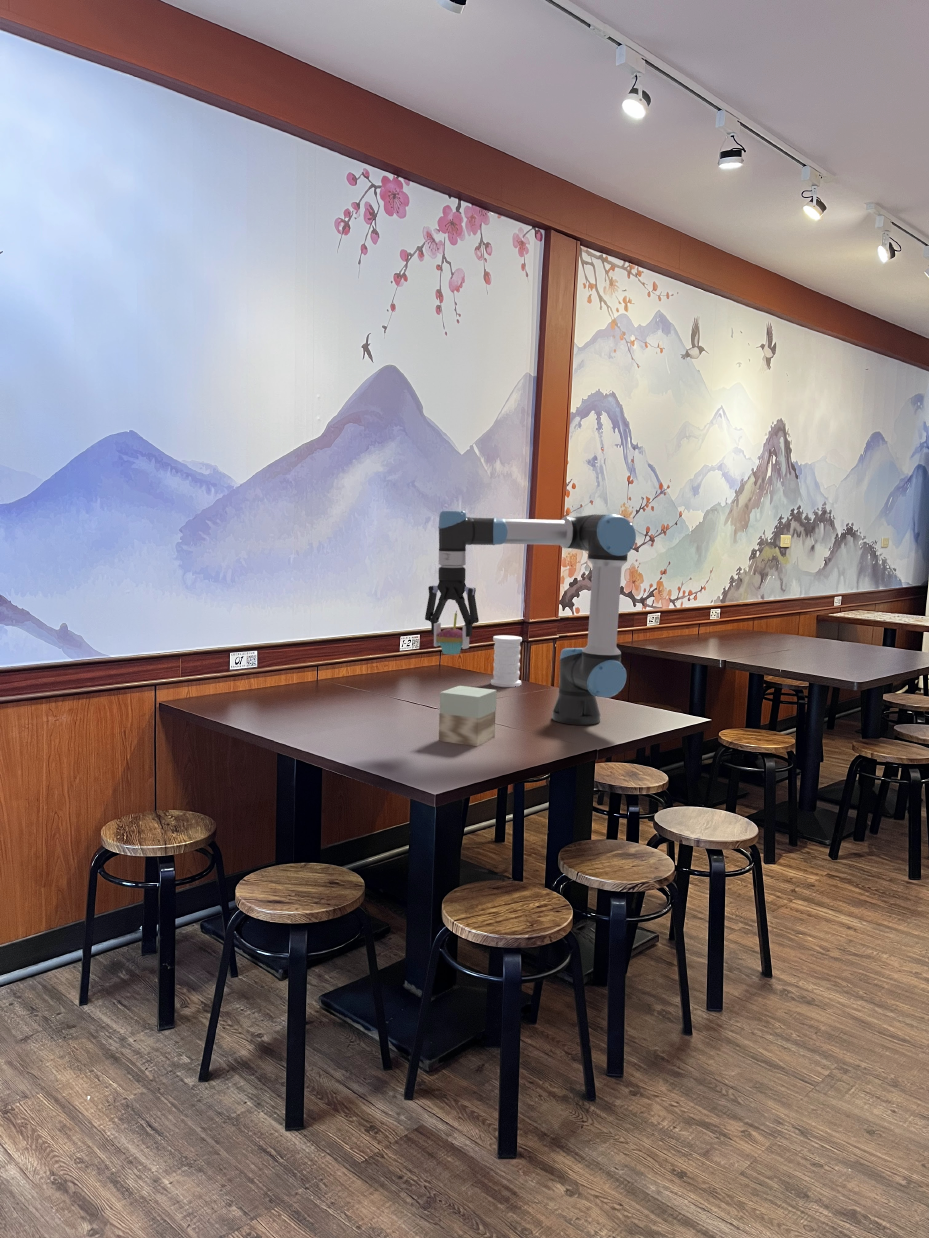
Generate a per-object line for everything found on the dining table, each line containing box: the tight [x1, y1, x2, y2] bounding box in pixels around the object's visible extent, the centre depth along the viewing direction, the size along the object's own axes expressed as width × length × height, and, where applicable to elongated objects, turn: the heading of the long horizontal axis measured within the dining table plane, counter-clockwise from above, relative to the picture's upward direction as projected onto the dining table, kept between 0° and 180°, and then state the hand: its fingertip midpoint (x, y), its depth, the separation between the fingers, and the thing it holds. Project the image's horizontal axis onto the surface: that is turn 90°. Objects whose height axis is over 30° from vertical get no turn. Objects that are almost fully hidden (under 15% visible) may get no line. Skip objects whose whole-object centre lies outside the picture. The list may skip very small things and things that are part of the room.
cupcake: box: [436, 610, 463, 656], centre depth 258 cm, size 9×8×12 cm
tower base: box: [438, 710, 497, 747], centre depth 262 cm, size 12×12×8 cm
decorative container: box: [490, 634, 523, 688], centre depth 349 cm, size 12×12×18 cm
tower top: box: [439, 685, 498, 718], centre depth 261 cm, size 12×12×6 cm
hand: (451, 646), depth 259 cm, fingers closed on cupcake, 8 cm apart
